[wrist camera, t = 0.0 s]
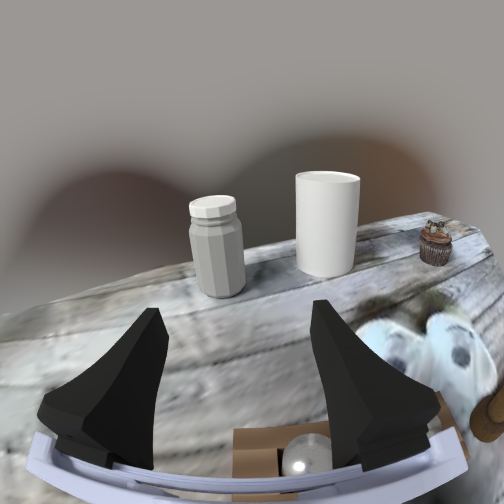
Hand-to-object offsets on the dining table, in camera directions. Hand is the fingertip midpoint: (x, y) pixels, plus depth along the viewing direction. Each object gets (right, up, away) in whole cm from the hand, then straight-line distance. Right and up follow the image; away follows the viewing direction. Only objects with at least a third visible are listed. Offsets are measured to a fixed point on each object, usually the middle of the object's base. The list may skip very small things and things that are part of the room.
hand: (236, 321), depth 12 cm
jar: (-5, -4, +43) cm, 43 cm away
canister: (+18, +1, +50) cm, 53 cm away
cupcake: (+48, +1, +47) cm, 67 cm away
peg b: (+6, -17, +6) cm, 19 cm away
